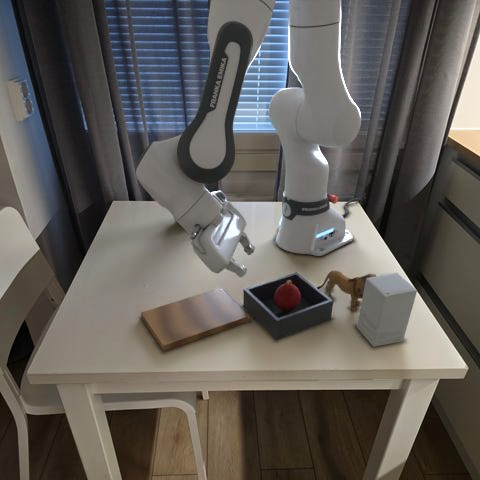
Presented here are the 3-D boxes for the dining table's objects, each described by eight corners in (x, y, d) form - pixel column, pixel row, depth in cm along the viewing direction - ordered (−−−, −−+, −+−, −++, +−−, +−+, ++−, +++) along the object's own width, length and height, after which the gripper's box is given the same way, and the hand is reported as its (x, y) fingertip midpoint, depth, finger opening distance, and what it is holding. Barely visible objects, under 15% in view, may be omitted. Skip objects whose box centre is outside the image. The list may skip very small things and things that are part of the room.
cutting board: (220, 292, 108) (220, 287, 107) (248, 321, 99) (248, 316, 98) (141, 317, 100) (140, 312, 99) (163, 351, 91) (163, 345, 90)
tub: (294, 289, 109) (296, 271, 106) (330, 319, 100) (333, 300, 97) (243, 307, 103) (243, 288, 100) (275, 340, 94) (277, 321, 91)
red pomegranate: (297, 320, 98) (300, 290, 94) (271, 317, 99) (273, 287, 94) (300, 305, 103) (303, 275, 98) (275, 302, 104) (277, 272, 99)
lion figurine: (377, 305, 104) (385, 272, 98) (368, 317, 100) (376, 283, 95) (320, 285, 110) (325, 253, 105) (310, 295, 107) (314, 262, 102)
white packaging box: (404, 341, 94) (419, 290, 86) (372, 347, 92) (384, 297, 84) (385, 320, 99) (397, 271, 92) (355, 326, 98) (365, 277, 90)
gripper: (197, 229, 81) (249, 280, 86) (223, 187, 97) (266, 233, 102) (176, 248, 85) (227, 297, 89) (204, 205, 101) (246, 248, 105)
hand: (248, 262), depth 96 cm, fingers open, 8 cm apart
